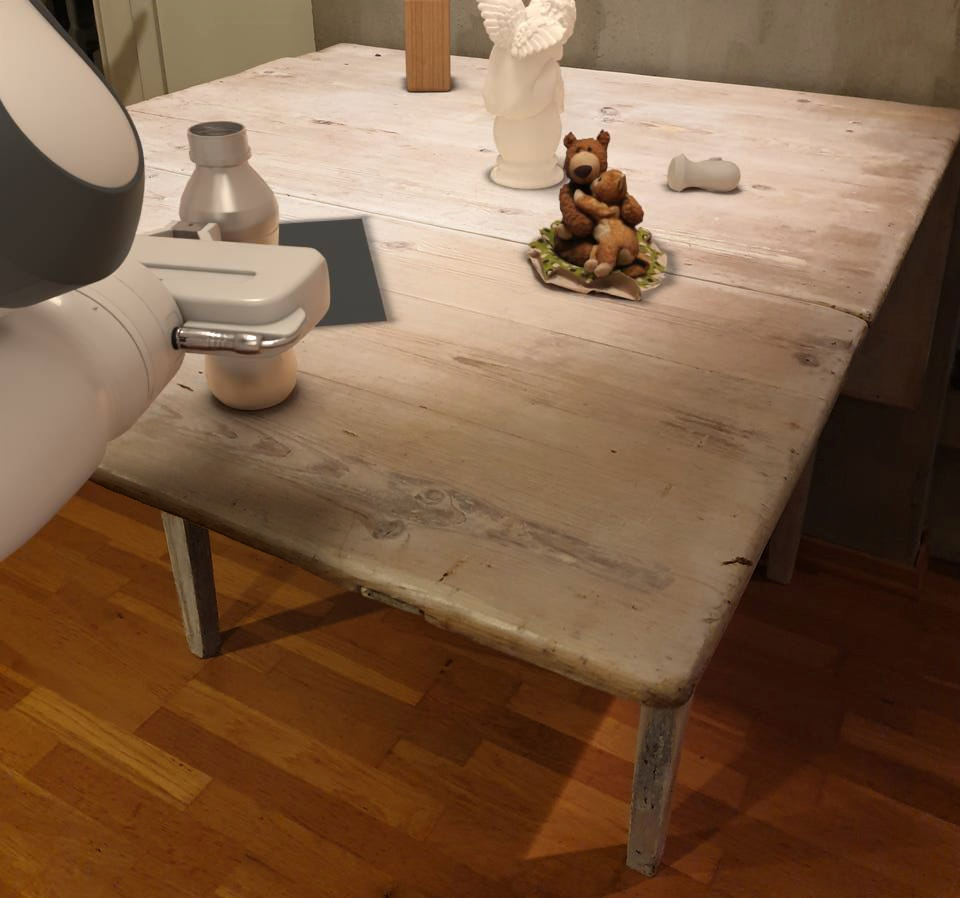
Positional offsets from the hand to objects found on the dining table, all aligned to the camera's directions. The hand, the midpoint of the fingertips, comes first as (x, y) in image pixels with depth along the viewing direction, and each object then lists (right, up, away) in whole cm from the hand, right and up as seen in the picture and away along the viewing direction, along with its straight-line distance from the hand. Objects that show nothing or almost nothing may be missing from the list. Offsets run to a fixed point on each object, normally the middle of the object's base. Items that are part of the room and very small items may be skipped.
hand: (198, 233), depth 60 cm
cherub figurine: (+23, +17, +51) cm, 59 cm away
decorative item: (+10, +42, +88) cm, 98 cm away
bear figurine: (+29, +3, +32) cm, 43 cm away
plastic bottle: (+1, -10, +12) cm, 16 cm away
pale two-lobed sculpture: (+43, +16, +50) cm, 68 cm away
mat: (-1, +3, +30) cm, 30 cm away
